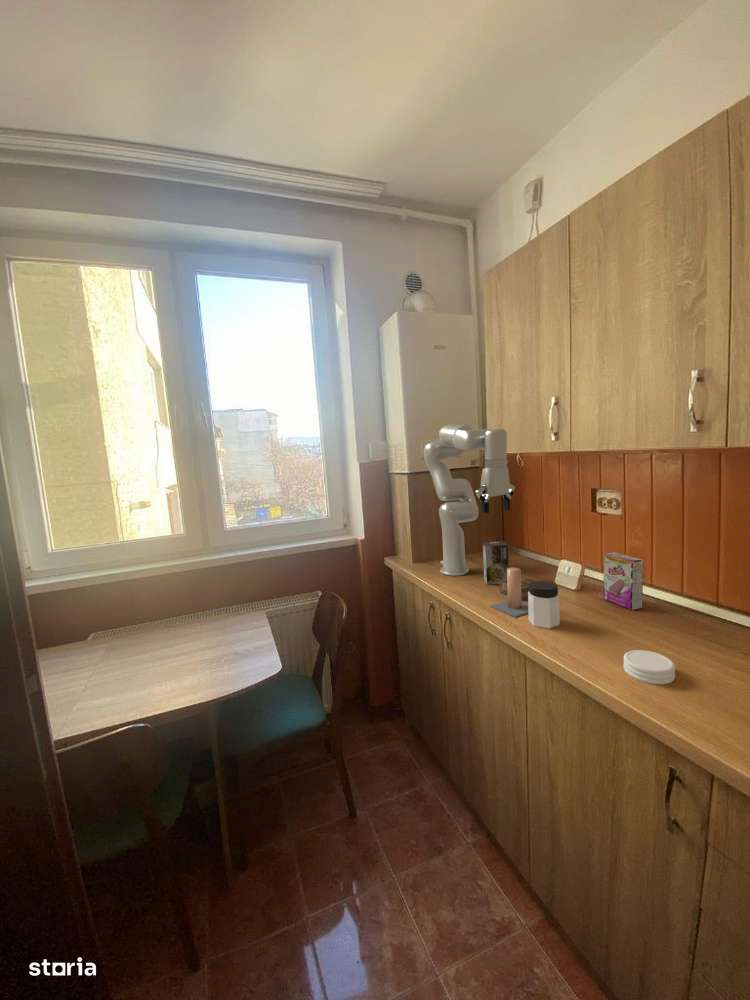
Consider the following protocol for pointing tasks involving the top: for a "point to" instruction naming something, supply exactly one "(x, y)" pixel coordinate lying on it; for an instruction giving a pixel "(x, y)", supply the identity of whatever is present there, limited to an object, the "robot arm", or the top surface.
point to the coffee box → (495, 562)
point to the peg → (514, 588)
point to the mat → (512, 612)
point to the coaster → (649, 667)
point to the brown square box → (523, 588)
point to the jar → (543, 604)
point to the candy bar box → (623, 580)
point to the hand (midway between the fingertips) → (495, 511)
